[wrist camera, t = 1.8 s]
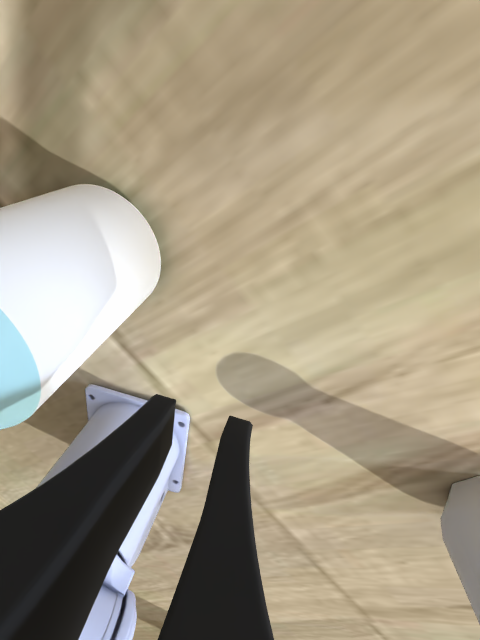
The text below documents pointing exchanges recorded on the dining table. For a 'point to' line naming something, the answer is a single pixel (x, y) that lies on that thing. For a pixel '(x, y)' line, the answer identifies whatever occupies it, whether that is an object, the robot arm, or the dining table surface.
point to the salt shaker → (464, 535)
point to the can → (66, 286)
